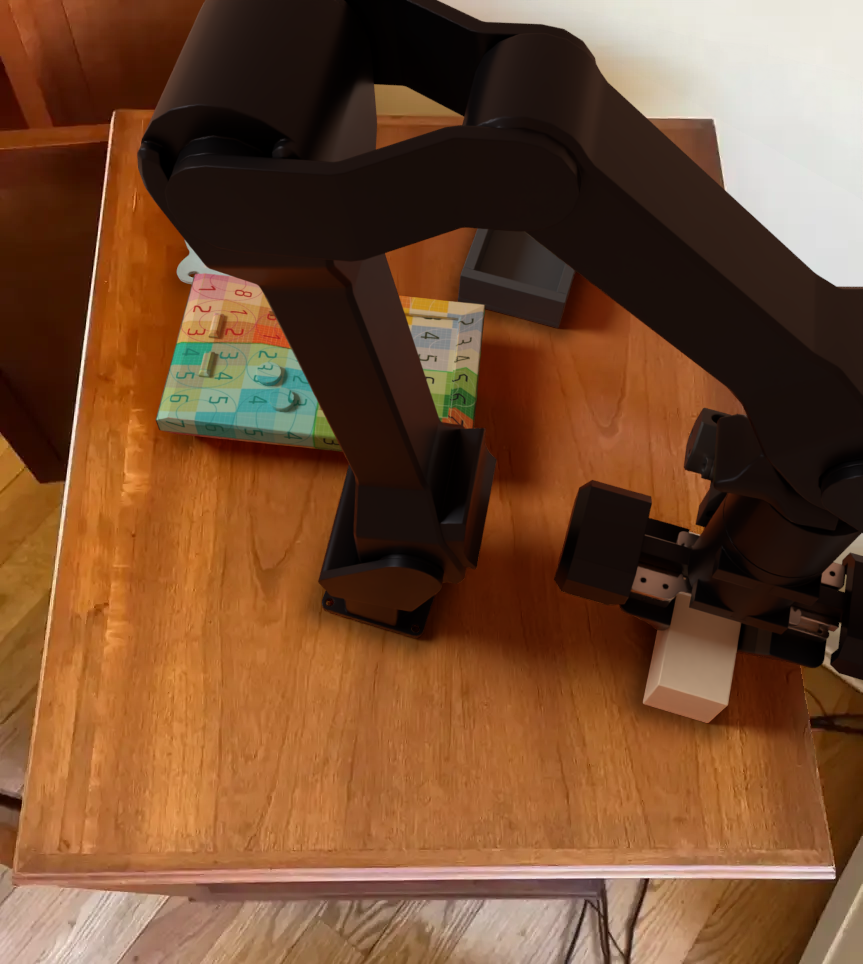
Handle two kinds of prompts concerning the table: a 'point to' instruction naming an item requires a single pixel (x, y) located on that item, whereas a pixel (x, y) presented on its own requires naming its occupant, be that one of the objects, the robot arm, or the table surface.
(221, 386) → the puzzle game
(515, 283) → the tray
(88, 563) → the table surface
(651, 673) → the block
